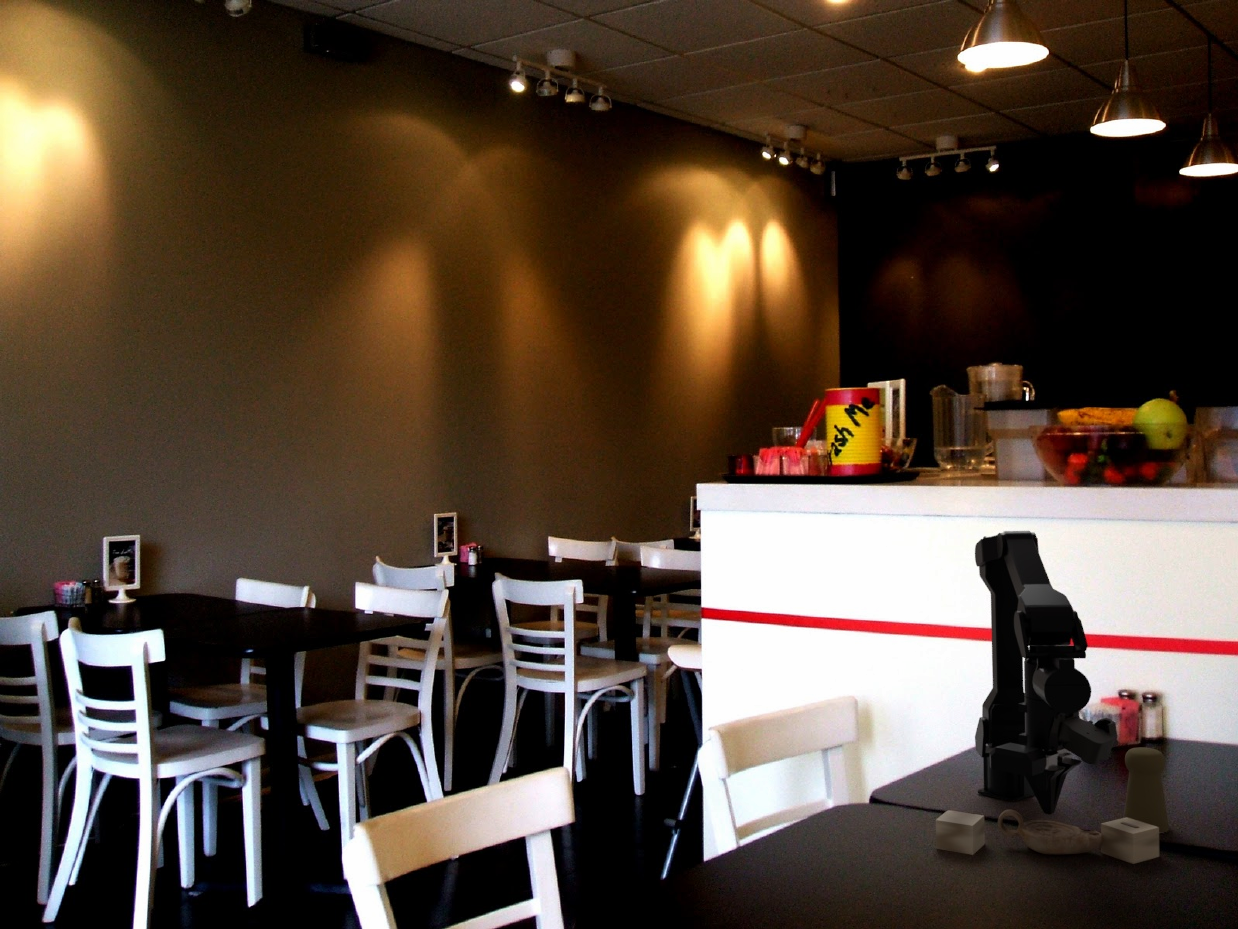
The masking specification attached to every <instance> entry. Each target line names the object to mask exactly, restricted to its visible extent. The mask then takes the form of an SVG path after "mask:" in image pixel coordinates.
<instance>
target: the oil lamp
mask: <svg viewBox="0 0 1238 929" xmlns="http://www.w3.org/2000/svg"><path fill="white" fill-rule="evenodd" d="M998 816H999V817H998V819H997V827H998V829H999V831H1000V832H1001V833H1002V834H1004V835H1006V836H1009V837H1020V838H1021V839H1022V841H1023V844H1025V846H1027V847H1028V848H1029V849H1030V850H1033V851H1035V852H1037V853H1039V854H1041V855H1059V856H1060V855H1076V854H1077V855H1078V854H1084V853H1088V852H1091V851H1094V850H1096V849H1097V848H1099V847H1100V846H1101V842H1102V837H1103V835H1102V834H1101V832H1099V831H1097V830H1090V831H1088V830H1083V829H1082V828H1080V827H1079V826H1076V825H1070V824H1068V823H1064V822H1061V821H1054V820H1048V819H1047V820H1045V819H1033V820H1032V819H1031V820H1030V819H1029V820H1026V821H1024V820H1023V816H1022V814H1020V813H1019V812H1018V811H1016V810H1014V809H1005V810H1003V811H1002V812H1000V815H998ZM1007 816H1012V817H1014V818H1015V819H1016V821H1017V822H1018V826H1017V828H1016V829H1010V828H1008V827H1006V826H1005V825H1004V821H1003V819H1004V818H1005V817H1007Z"/></svg>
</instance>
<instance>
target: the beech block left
mask: <svg viewBox="0 0 1238 929" xmlns="http://www.w3.org/2000/svg"><path fill="white" fill-rule="evenodd" d="M985 835H986V833H985V815H984V814H976V813H970V812H963V811H956V810H949V809H948V810H947V811H945V812H944V813H943V814H941V815H940V816H939V817H937V818H936V819H935V848H936V849H937V850H943V851H949V852H955V853H959V854H966V855H971V856H974V855H975V854H976V852H978V851H979V850H980V849H982V847H983V846H984V845H985V844H986V843H985V842H986V841H985V840H986V839H985V838H986V837H985Z"/></svg>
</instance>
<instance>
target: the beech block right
mask: <svg viewBox="0 0 1238 929" xmlns="http://www.w3.org/2000/svg"><path fill="white" fill-rule="evenodd" d="M1100 833H1101V834H1102V835H1103V837H1102V842H1101V844H1100V852H1101V854H1103V855H1107V856H1109V857H1113V858H1115V859H1118V860H1122V861H1123V862H1127V863H1130V864H1132V865H1134V864H1137V863H1142V862H1145V861H1149V860H1152V859H1155V858H1159V857H1160V834H1159V827H1156V826H1153V825H1150V824H1147V823H1144V822H1140V821H1137V820H1134V819H1131V818H1127V817H1126V818H1123V817H1122V818H1118V819H1113V820H1109V821H1106V822H1102V823H1100Z"/></svg>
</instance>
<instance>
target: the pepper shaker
mask: <svg viewBox="0 0 1238 929" xmlns="http://www.w3.org/2000/svg"><path fill="white" fill-rule="evenodd" d="M1124 764H1125V766H1126V770H1128V780H1127V787H1126V788H1127V789H1126V794H1125V795H1126V796H1125V803H1124V810H1123V817H1122V818H1126V817H1127V818H1131V819H1134V820H1137V821H1140V822H1144V823H1147V824H1150V825H1153V826H1156V827H1159V832H1166V833H1168V832H1169V831H1170V825H1169V818H1168V813H1167V805H1166V799H1165V798H1166V797H1165V793H1164V785H1163V779H1162V773H1163V772H1164V771H1165V769H1166V768H1165V767H1166V759H1165V756H1164V754H1163V753H1162V752H1161V751H1159V750H1158V749H1155V748H1150V747H1141V746H1140V747H1133V748H1129V749H1128V751H1127V752H1126V753H1125V757H1124ZM1168 830H1169V831H1168ZM1167 831H1168V832H1167Z"/></svg>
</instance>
